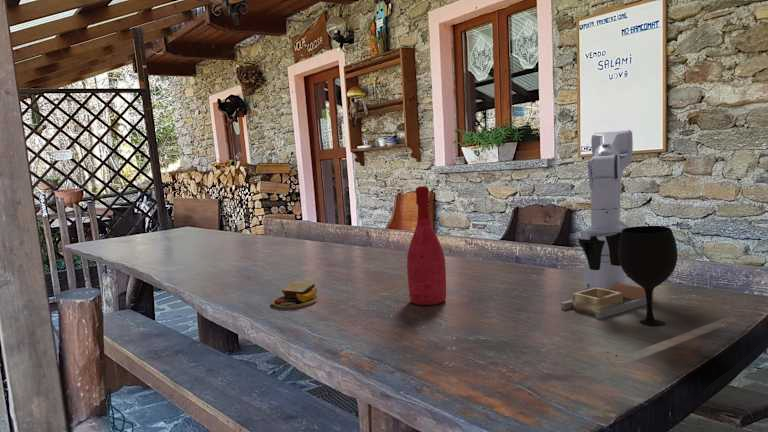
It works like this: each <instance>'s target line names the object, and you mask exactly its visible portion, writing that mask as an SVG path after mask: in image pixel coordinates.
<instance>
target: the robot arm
mask: <svg viewBox="0 0 768 432" xmlns="http://www.w3.org/2000/svg"><path fill="white" fill-rule="evenodd" d="M633 142H634V141H633V131H632V130H631V129H628V130H619V131H607V132H605V131H604V132H593V133H592V134H591V143H590V144H591V153H592V157H591V158H588V160H587V177H588V182H589V183H588V185H589V189H590V216H591V217H590V222H591V223H590V227H588V228H584V229H581V230H579V232H580V233H579V238H578V243H579V245H580V246H581V248H582V250H583V252H584V255H585V258H586V261H585V264H584V265H583V266H584V268H583V276H584V277H583V278H584V284H583V285H584V286H583V287H584V289H585V290H587V289H591V288H595V287H597V288H602V289H607V290H610V289H612V283H614V282H616V283H621V284H627V275H626V273H625V272H624V271H623V269H622V267H621V265H620V262H619V257H618V245H619V239H620V235H621V232H622V230H623V229H625V228H629V227H630V226H629V225H628V224H626V223H624V222H622V221H621V218H620V217H621V192H622V191H621V189H622V188H621V186H622V176H623V173H624V169H625V168H628V167H629V166H630V165H631V163H632V160H633V149H634V148H633V147H634V146H633V145H634V143H633Z"/></svg>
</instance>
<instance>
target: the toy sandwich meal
mask: <svg viewBox="0 0 768 432" xmlns="http://www.w3.org/2000/svg"><path fill="white" fill-rule="evenodd" d="M315 287H316V284H315V283H314V282H312V281H304V280H303V281H302V280H299V281H298V280H297V281H296V280H295V281H292V282H291V283H290V284H289V285H287V286H286V287H284V288H283V289H281V292H282V294H283V295H281V296H278V297H276V298H274V299H272V300H271V304H272V306H274V307H275V308H278V309H285V310H286V309H289V310H290V309H299V308H304V307H308V306H311V305H313V304H315V303H316V301H317V300H318V299H319V298H318V295H317V293H318V287H317V288H315Z"/></svg>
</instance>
